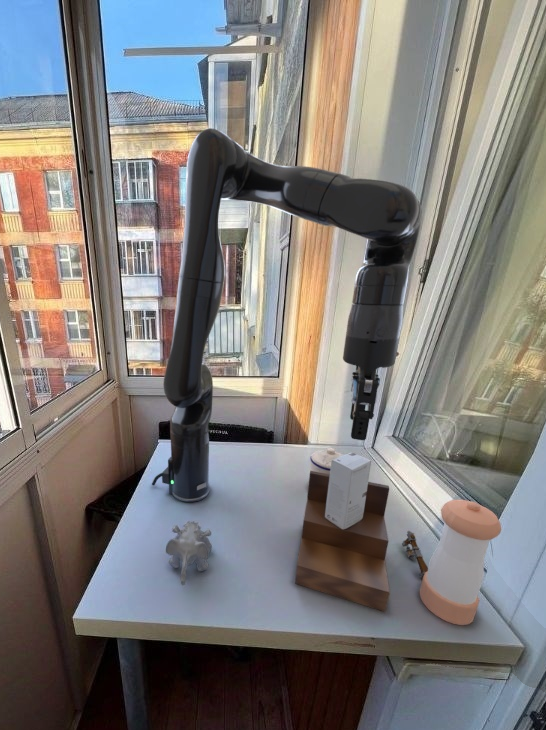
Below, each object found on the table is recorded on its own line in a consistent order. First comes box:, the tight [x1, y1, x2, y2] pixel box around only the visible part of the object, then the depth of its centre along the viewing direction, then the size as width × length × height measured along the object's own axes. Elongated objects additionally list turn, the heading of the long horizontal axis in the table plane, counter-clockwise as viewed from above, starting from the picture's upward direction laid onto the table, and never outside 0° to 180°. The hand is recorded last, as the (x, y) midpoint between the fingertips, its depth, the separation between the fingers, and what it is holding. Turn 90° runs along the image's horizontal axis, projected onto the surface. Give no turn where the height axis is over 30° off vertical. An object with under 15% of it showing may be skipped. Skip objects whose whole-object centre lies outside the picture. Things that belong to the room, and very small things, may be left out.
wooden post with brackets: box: [401, 530, 429, 579], centre depth 62 cm, size 2×8×4 cm, turn 177°
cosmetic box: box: [325, 452, 372, 529], centre depth 60 cm, size 6×4×12 cm
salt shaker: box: [419, 499, 502, 626], centre depth 51 cm, size 7×7×19 cm
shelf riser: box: [294, 470, 391, 612], centre depth 60 cm, size 14×15×14 cm
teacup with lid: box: [307, 447, 343, 486], centre depth 82 cm, size 12×9×12 cm
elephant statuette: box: [165, 520, 213, 586], centre depth 60 cm, size 9×12×8 cm
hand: (357, 428), depth 57 cm, fingers open, 8 cm apart
